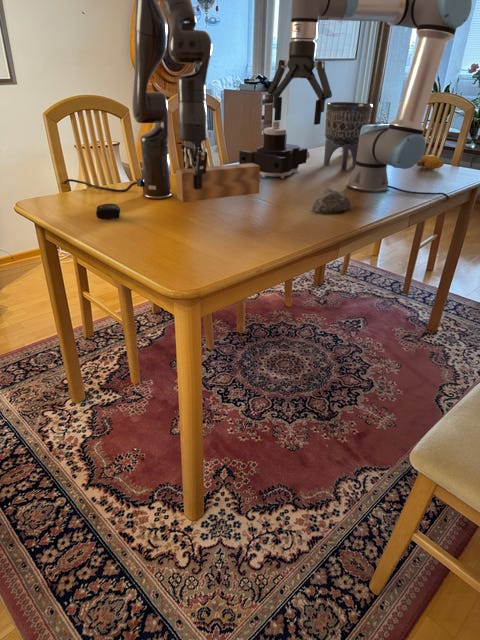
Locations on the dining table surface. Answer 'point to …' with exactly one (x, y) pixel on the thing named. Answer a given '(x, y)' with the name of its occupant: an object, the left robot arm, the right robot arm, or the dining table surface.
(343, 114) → the planter
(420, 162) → the toy
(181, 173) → the bar
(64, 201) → the dining table surface
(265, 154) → the mechanical component
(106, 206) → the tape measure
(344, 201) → the rock
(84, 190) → the dining table surface
